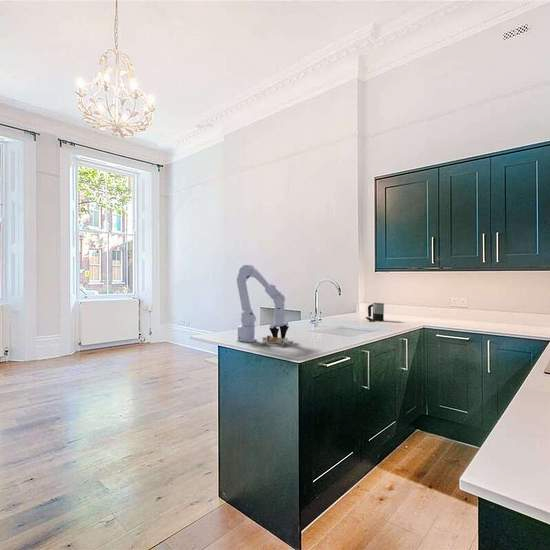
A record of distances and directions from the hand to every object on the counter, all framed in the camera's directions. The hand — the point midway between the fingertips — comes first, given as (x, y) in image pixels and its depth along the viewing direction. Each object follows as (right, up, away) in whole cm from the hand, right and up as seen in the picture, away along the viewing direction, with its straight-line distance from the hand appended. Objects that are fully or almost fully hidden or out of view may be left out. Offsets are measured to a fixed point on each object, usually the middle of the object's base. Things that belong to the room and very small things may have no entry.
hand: (279, 339), depth 203 cm
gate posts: (-2, -2, -9) cm, 9 cm away
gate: (-2, -1, -5) cm, 5 cm away
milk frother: (+82, -2, +95) cm, 126 cm away
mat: (-1, -2, -3) cm, 4 cm away
